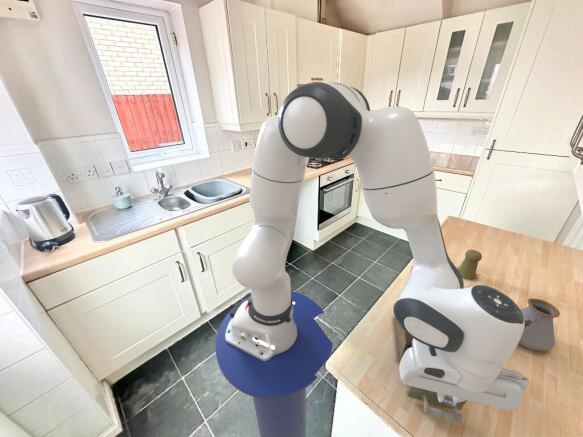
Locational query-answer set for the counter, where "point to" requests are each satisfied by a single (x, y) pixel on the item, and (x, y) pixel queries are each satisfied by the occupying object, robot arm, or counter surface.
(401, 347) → the cabinet
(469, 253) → the cork
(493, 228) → the counter surface
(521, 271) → the counter surface
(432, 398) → the drawer
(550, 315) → the coffee pot
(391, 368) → the counter surface
